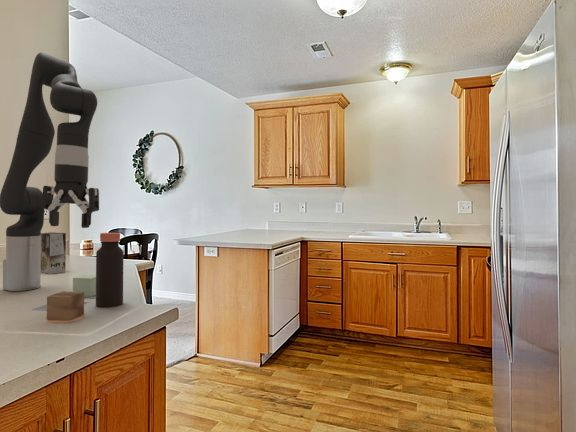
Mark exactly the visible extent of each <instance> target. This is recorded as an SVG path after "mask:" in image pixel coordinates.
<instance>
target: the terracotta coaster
mask: <svg viewBox="0 0 576 432" xmlns="http://www.w3.org/2000/svg"><path fill="white" fill-rule="evenodd" d="M84 318H85V313H84V314H83V315H81V316H79V317H77V318H75V319H72V320H70V321H61V320H47V317H46V318H45V321H46V322H47V323H51V324H63V323H70V322H75V321H79V320H81V319H84Z"/></svg>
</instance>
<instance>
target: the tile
mask: <svg viewBox="0 0 576 432" xmlns="http://www.w3.org/2000/svg"><path fill="white" fill-rule="evenodd" d="M89 303H90V301H84V306H86V305H87V304H89ZM31 311H38V312H39V311H41V312H47V303H46V304H44V305H41V306H37V307H35V308H33V309H31Z"/></svg>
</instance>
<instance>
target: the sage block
mask: <svg viewBox="0 0 576 432" xmlns="http://www.w3.org/2000/svg"><path fill="white" fill-rule="evenodd" d="M72 292H84V297H92V296H94V295H96V274H82V275H79V276H75V277H73V278H72Z"/></svg>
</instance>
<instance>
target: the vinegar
mask: <svg viewBox="0 0 576 432" xmlns="http://www.w3.org/2000/svg"><path fill="white" fill-rule="evenodd" d="M99 240H100V244H101V245H100V246H101V247H99V248H98V250H96V252H95V275H96V298H95V307H97V308H102V309H103V308H104V309H105V308H107V309H109V308H115V307H116V308H117V307H120V306H122V305H123V303H124V252H125V251H124V250H123V249H122V248H121V247H120V246H119V245H120V241H121V233H120V232H100V233H99Z"/></svg>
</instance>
